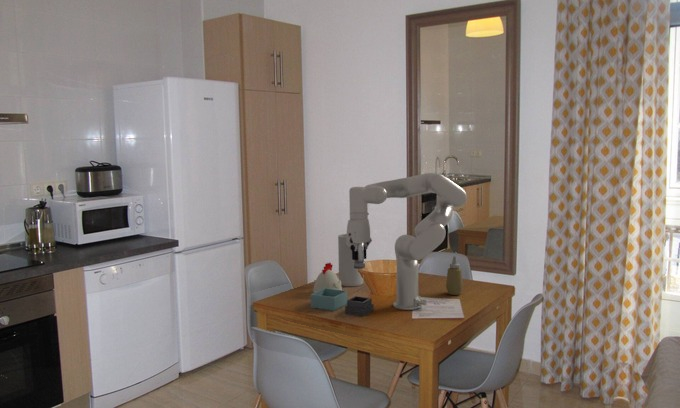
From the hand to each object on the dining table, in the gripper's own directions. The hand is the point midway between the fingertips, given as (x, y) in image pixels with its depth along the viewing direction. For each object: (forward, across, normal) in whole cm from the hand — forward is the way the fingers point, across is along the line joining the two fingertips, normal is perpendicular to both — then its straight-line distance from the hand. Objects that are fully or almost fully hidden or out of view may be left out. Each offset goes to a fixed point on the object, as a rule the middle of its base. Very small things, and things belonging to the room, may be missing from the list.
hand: (359, 258), depth 237 cm
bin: (+23, +4, -16) cm, 28 cm away
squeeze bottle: (+23, -52, +10) cm, 58 cm away
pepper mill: (+4, 0, 0) cm, 4 cm away
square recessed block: (+23, 0, 0) cm, 23 cm away
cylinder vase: (+23, -29, -38) cm, 54 cm away
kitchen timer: (+23, -8, -32) cm, 41 cm away
